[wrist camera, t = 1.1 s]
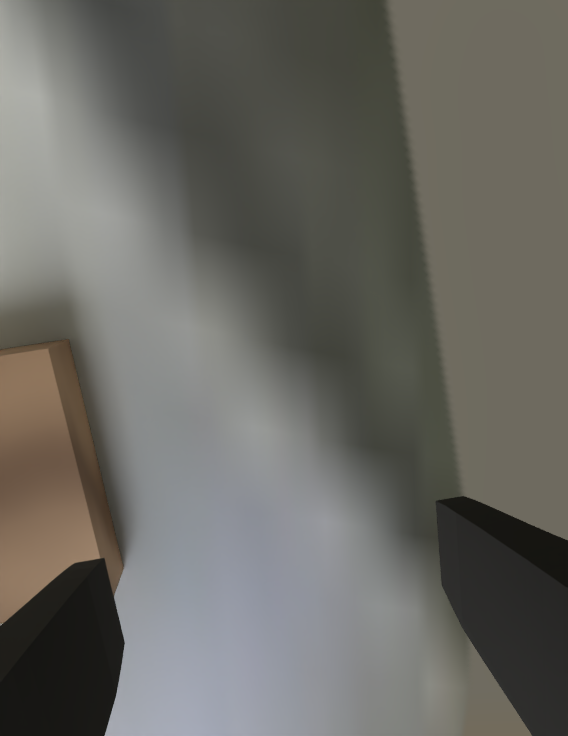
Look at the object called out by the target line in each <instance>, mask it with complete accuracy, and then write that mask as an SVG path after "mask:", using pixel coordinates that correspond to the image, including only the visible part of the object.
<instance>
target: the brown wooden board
mask: <svg viewBox="0 0 568 736" xmlns="http://www.w3.org/2000/svg"><path fill="white" fill-rule="evenodd" d="M100 558H105V562H106V566H107V571H108V575H109V579H110V583H111V587H112V592H113V596H114V594H115V591H116V588H117V586H118V583H119V580H120V577H121V574H122V572H123V569H124V568H123V564H122V559H121V555H120V551H119V547H118V543H117V539H116V534H115V530H114V526H113V522H112V518H111V514H110V509H109V505H108V501H107V497H106V493H105V489H104V485H103V480H102V476H101V472H100V468H99V464H98V460H97V455H96V451H95V447H94V443H93V439H92V435H91V430H90V426H89V422H88V418H87V414H86V410H85V405H84V401H83V397H82V393H81V389H80V385H79V381H78V376H77V372H76V368H75V364H74V360H73V356H72V351H71V347H70V343H69V339H66V340H60V341H53V342H46V343H40V344H33V345H27V346H20V347H14V348H7V349H1V350H0V623H4V622H5V621H7V620H8V619H9V618H10V617H11V616H12V615H13V614H15V613H16V612H17V611H18V610H19V609H20V608H21V607H23V606H24V605H25V604H26V603H27V602H28V601H30V600H31V599H32V598H33V597H34V596H35V595H36V594H37V593H39V592H40V591H41V590H42V589H43V588H44V587H45V586H47V585H48V584H49V583H50V582H51V581H52V580H53V579H55V578H56V577H57V576H58V575H59V574H61V573H62V572H63V571H64V570H66V569H67V568H68V567H70V566H71V565H72V564H74V563H77V562H83V561H88V560H94V559H100Z"/></svg>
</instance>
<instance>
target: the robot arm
mask: <svg viewBox="0 0 568 736" xmlns="http://www.w3.org/2000/svg"><path fill="white" fill-rule="evenodd" d="M436 511H437V525H438V539H439V553H440V567H441V581H442V586H443V589H444V591H445V593H446V595H447V597H448V599H449V601H450V603H451V606H452V608H453V610H454V612H455V614H456V616H457V618H458V620H459V622H460V624H461V626H462V628H463V629H464V631H465V633H466V634H467V636H468V637H469V639H470V641H471V642H472V644H473V645H474V647H475V648H476V650H477V652H478V653H479V655H480V656H481V658H482V659H483V661H484V662H485V664H486V665H487V667H488V668H489V670H490V671H491V673H492V675H493V676H494V678H495V679H496V681H497V682H498V684H499V685H500V687H501V688H502V690H503V691H504V693H505V694H506V696H507V698H508V699H509V701H510V702H511V703H512V705H513V707H514V708H515V710H516V711H517V713H518V714H519V716H520V717H521V719H522V721H523V722H524V723H525V725H526V727H527V728H528V730H529V731H530V733H531V734H532V736H568V540H565V539H563V538H561V537H558V536H556V535H553V534H551V533H549V532H546V531H544V530H541V529H539V528H537V527H535V526H532V525H530V524H528V523H526V522H523V521H521V520H519V519H517V518H514V517H512V516H510V515H508V514H505V513H503V512H501V511H499V510H496V509H494V508H492V507H490V506H487V505H485V504H483V503H480V502H478V501H476V500H473V499H470V498H467V497H465V496H461V497H455V498H450V499H444V500H438V501H436ZM124 644H125V642H124V638H123V634H122V630H121V625H120V621H119V617H118V613H117V609H116V604H115V600H114V596H113V592H112V587H111V583H110V579H109V575H108V571H107V566H106V562H105V558H100V559H94V560H88V561H83V562H77V563H74V564H72V565H71V566H70V567H68V568H67V569H66V570H64V571H63V572H62V573H61V574H59V575H58V576H57V577H56V578H55V579H53V580H52V581H51V582H50V583H49V584H48V585H47V586H45V587H44V588H43V589H42V590H41V591H40V592H39V593H37V594H36V595H35V596H34V597H33V598H32V599H31V600H30V601H28V602H27V603H26V604H25V605H24V606H23V607H21V608H20V609H19V610H18V611H17V612H16V613H15V614H13V615H12V616H11V617H10V618H9V619H8V620H7V621H5V622H4V623H3V624H2V625H1V626H0V736H105V732H106V729H107V725H108V722H109V718H110V715H111V711H112V708H113V704H114V701H115V697H116V693H117V687H118V682H119V676H120V670H121V664H122V657H123V651H124Z"/></svg>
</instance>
